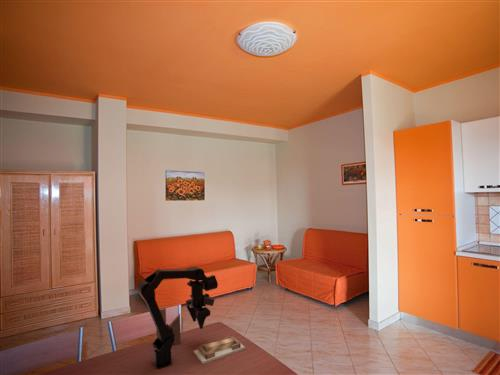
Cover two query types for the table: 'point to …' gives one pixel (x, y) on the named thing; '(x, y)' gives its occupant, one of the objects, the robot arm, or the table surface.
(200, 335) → the table surface
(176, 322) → the wooden block
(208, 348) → the slat
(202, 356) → the slat board
